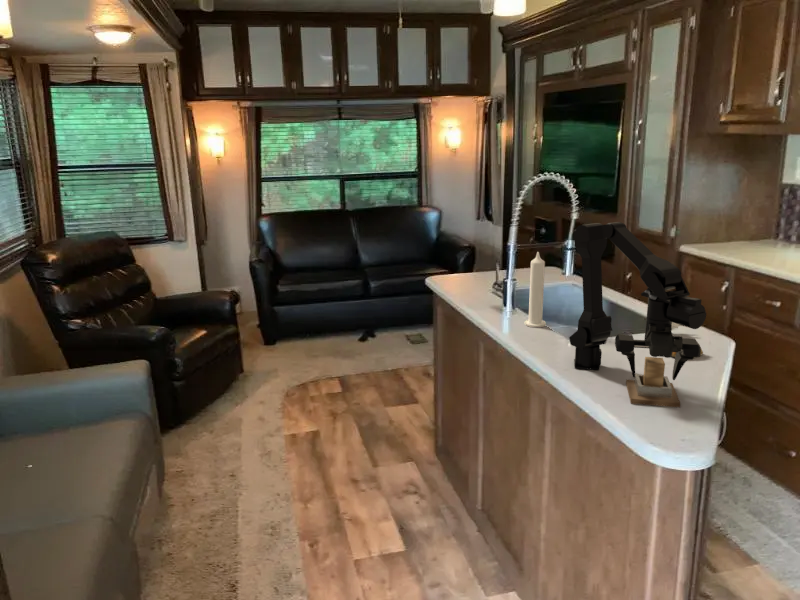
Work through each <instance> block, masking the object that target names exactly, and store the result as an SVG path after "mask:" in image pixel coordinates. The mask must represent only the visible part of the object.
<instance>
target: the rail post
mask: <svg viewBox="0 0 800 600" xmlns="http://www.w3.org/2000/svg"><path fill="white" fill-rule="evenodd" d="M643 366H644V367H643V375H644V376H643V385H647V386H660V387H663V379H664V376H665V369H666V368H665V367H666V363H665V360H664V357H653V356H645V358H644V365H643Z"/></svg>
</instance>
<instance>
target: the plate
mask: <svg viewBox="0 0 800 600" xmlns="http://www.w3.org/2000/svg"><path fill="white" fill-rule="evenodd" d="M634 381H635V379H626V382H625V385H626V389H627V394H628V398H629V402H630V404H632V405H633V404H634V405H635V404H636V405H646V406H647V405H648V406H657V407H658V406H659V407H668V408H669V407H671V408H681V401H680V400H681V399H680V398H679V396H678V394H677V392H676V389H675V386H674V384H673V382H670V384H671V387H672V396H671V398H661V397H649V396H638V395H637V391H636V388H635V384H634Z"/></svg>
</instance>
